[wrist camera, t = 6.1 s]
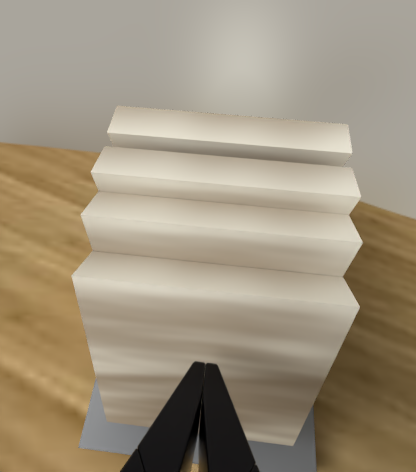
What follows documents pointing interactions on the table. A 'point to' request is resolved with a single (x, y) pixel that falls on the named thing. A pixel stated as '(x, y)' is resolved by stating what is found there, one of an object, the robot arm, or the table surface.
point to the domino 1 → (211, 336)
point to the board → (129, 436)
